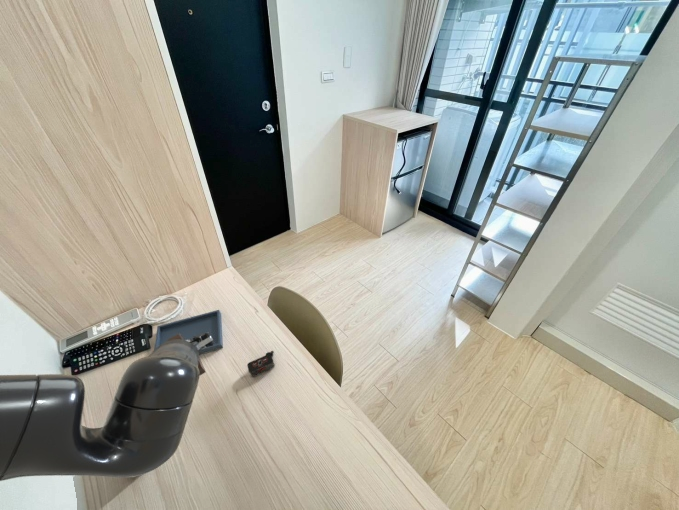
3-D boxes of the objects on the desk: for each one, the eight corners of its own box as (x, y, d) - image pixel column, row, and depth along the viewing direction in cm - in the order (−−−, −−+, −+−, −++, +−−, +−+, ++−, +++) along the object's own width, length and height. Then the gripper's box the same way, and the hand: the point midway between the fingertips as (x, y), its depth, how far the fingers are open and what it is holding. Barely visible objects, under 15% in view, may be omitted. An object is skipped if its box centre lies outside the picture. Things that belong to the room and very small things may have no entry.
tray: (155, 368, 72) (151, 364, 71) (160, 329, 80) (157, 326, 79) (222, 347, 76) (220, 344, 75) (221, 313, 85) (219, 309, 83)
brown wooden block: (205, 372, 58) (193, 356, 53) (186, 383, 56) (171, 368, 51) (194, 344, 62) (182, 327, 57) (176, 354, 60) (161, 338, 55)
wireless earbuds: (278, 366, 73) (276, 361, 71) (252, 378, 70) (249, 373, 68) (273, 351, 76) (271, 346, 73) (248, 362, 73) (245, 357, 71)
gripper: (205, 323, 45) (205, 315, 60) (107, 374, 39) (135, 350, 54) (225, 362, 46) (221, 344, 61) (132, 418, 39) (153, 382, 55)
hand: (180, 347), depth 58 cm, fingers closed on brown wooden block, 2 cm apart
